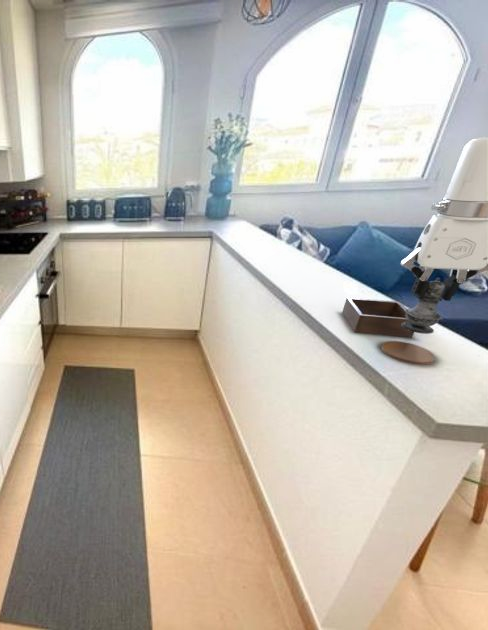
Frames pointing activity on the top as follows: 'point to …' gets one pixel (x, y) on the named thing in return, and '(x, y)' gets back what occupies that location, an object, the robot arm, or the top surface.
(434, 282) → the stone chess piece
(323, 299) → the top surface
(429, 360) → the coaster
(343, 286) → the top surface
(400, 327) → the crate
